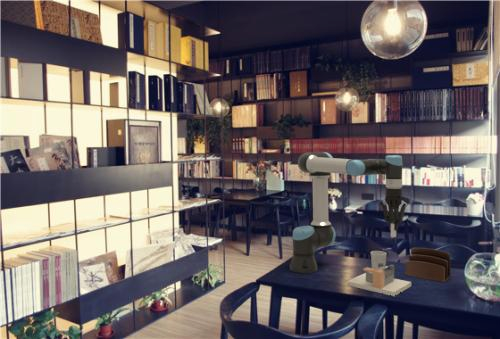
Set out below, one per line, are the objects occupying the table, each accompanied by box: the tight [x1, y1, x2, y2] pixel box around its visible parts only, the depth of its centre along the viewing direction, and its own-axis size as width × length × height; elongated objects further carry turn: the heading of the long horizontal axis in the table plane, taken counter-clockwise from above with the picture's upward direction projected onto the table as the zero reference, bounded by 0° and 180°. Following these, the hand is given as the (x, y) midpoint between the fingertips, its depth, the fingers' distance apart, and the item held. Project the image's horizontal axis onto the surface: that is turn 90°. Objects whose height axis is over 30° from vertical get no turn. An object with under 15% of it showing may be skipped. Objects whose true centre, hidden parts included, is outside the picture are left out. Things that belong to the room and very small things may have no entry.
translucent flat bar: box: [369, 265, 389, 274], centre depth 209 cm, size 4×16×1 cm, turn 137°
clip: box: [362, 266, 385, 289], centre depth 203 cm, size 9×4×8 cm, turn 47°
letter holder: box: [404, 247, 451, 283], centre depth 223 cm, size 10×20×14 cm, turn 49°
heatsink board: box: [346, 263, 412, 297], centre depth 209 cm, size 24×19×9 cm
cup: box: [370, 250, 388, 269], centre depth 226 cm, size 8×8×12 cm
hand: (393, 236), depth 206 cm, fingers closed
